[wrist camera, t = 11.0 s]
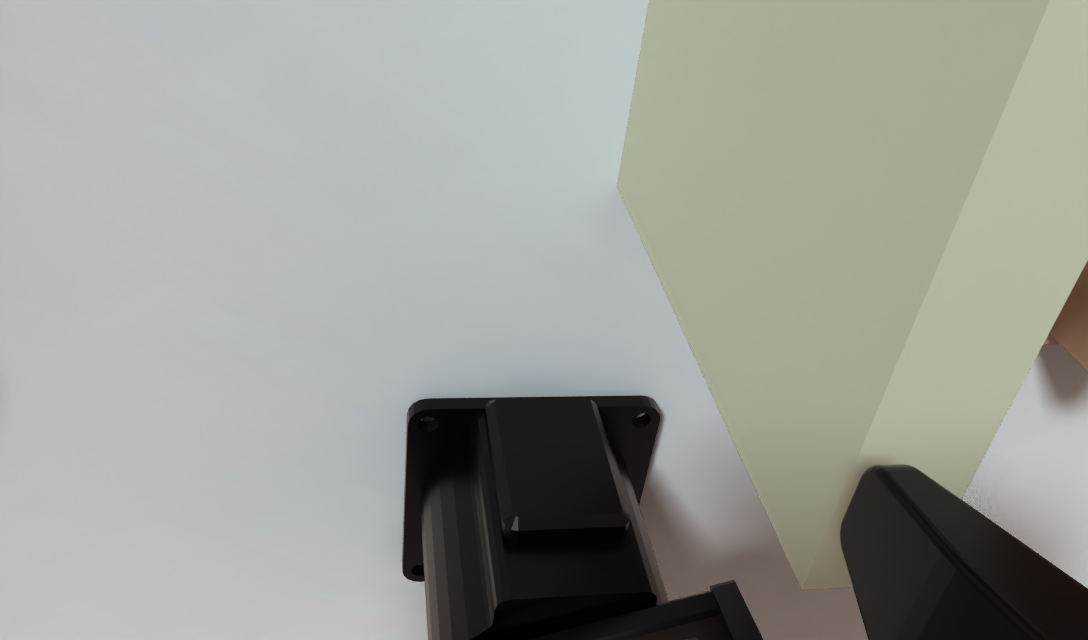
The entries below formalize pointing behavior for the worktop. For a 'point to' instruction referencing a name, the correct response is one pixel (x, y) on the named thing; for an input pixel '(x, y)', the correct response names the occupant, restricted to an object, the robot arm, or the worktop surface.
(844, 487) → the green sheet
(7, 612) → the worktop surface
